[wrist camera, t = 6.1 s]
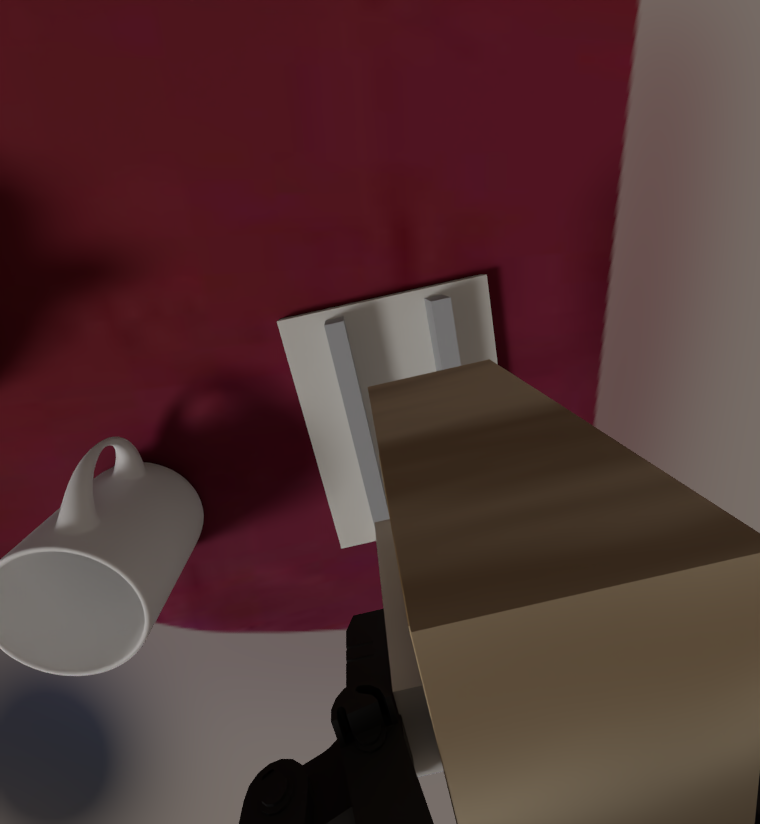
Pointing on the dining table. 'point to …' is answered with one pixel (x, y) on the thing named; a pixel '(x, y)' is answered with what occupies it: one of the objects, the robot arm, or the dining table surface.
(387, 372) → the white stand
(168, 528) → the mug
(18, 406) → the dining table surface
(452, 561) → the door panel
